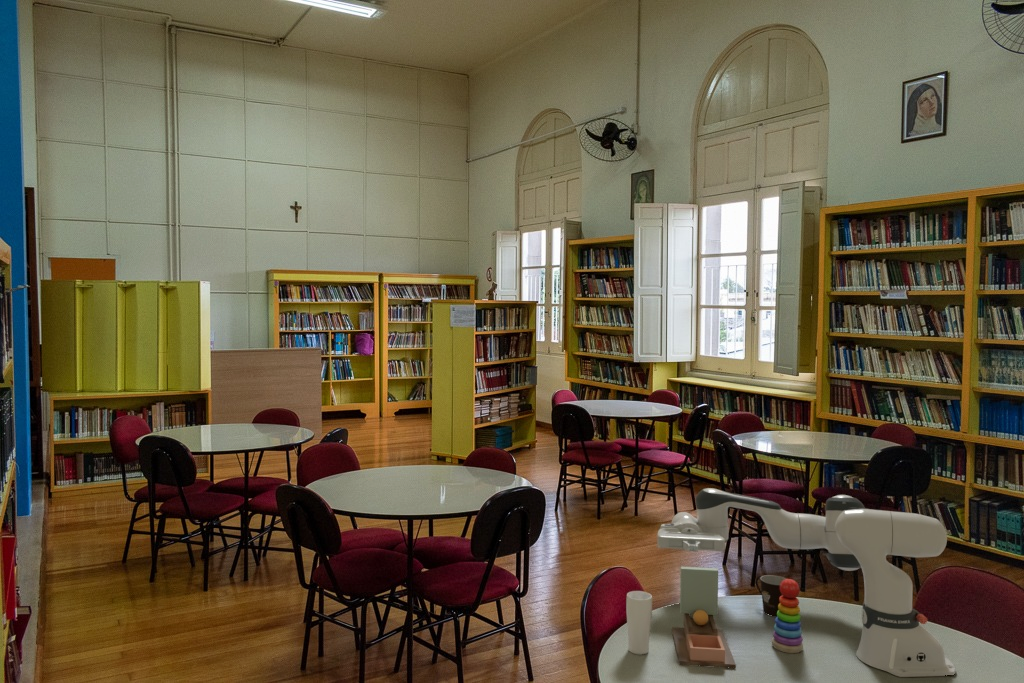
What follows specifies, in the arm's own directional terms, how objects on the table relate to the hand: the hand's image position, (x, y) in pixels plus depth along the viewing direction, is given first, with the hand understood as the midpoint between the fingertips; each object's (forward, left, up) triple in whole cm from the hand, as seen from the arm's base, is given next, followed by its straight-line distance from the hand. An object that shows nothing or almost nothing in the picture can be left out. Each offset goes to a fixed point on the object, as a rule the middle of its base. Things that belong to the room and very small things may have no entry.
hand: (693, 548), depth 218 cm
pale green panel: (0, +13, -15) cm, 20 cm away
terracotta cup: (0, +27, -21) cm, 34 cm away
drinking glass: (+17, +25, -21) cm, 37 cm away
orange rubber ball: (0, +18, -14) cm, 22 cm away
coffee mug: (-25, -9, -21) cm, 34 cm away
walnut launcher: (0, +21, -21) cm, 29 cm away
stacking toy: (-23, +17, -21) cm, 36 cm away
